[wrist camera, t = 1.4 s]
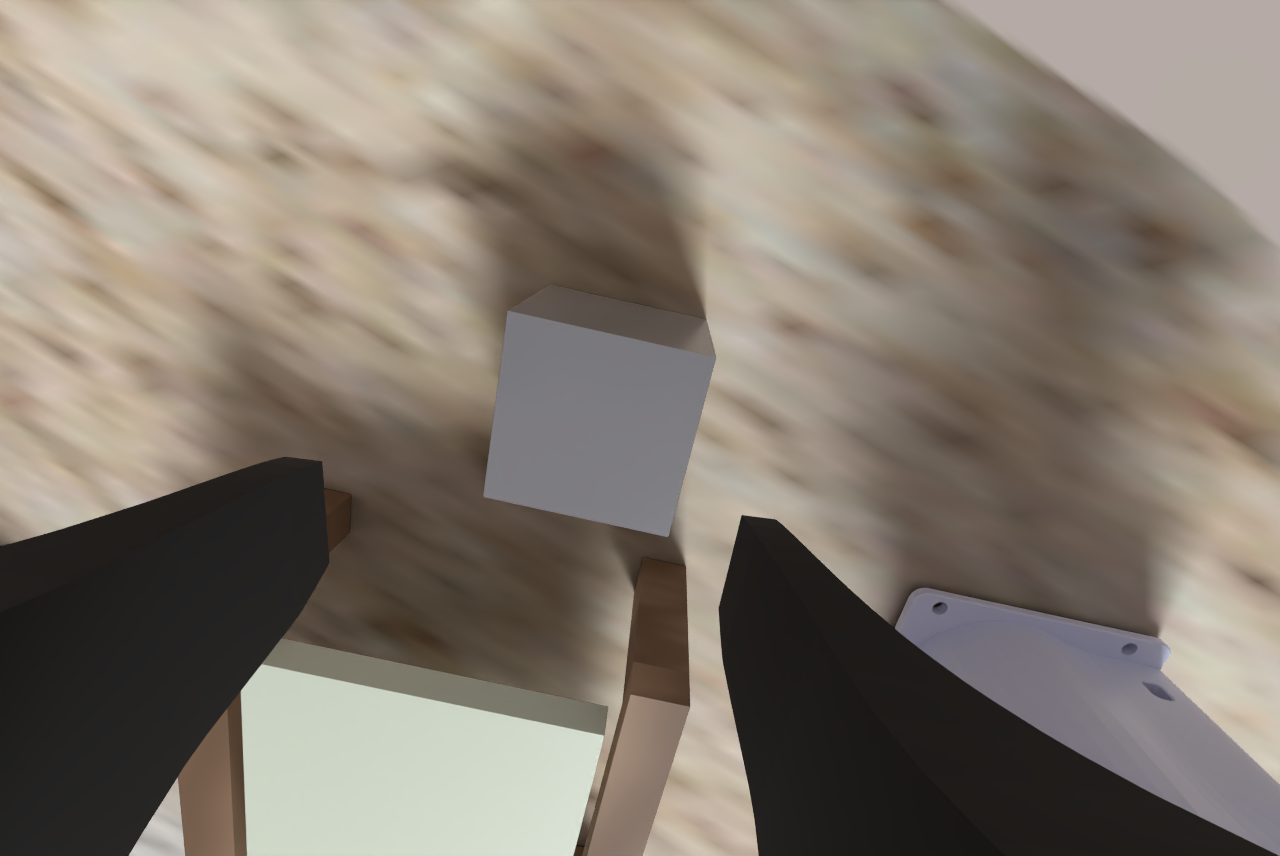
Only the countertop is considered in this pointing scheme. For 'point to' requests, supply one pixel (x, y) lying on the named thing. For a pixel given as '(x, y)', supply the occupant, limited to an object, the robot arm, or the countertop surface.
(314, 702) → the trapdoor
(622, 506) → the stone
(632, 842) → the trapdoor frame
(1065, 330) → the countertop surface
